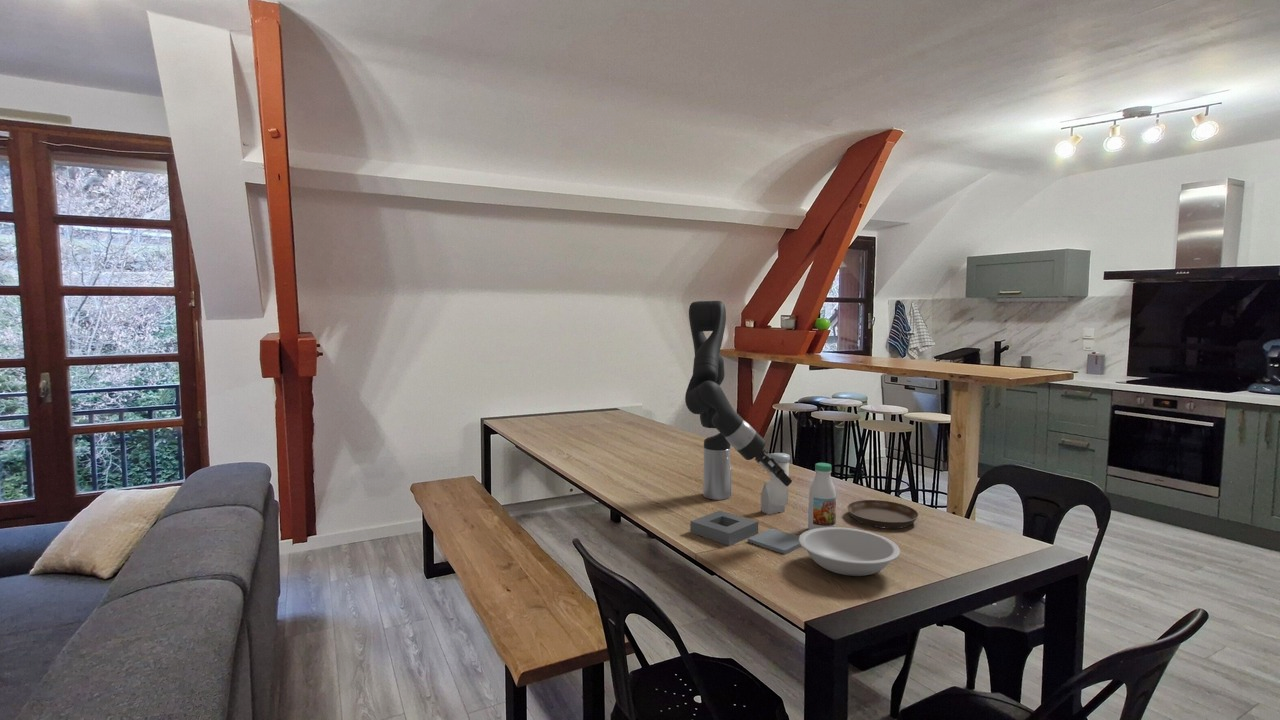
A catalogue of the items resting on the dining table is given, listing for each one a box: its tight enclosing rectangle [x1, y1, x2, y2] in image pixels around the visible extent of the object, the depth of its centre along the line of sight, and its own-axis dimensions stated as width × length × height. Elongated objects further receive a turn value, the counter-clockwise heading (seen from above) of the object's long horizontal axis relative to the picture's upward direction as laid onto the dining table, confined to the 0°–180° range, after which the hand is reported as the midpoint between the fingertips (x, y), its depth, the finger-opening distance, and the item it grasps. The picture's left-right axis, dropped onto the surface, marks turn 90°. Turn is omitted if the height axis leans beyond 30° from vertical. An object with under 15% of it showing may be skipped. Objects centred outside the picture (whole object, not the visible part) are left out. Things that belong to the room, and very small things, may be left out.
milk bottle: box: [807, 462, 837, 530], centre depth 180 cm, size 8×8×20 cm
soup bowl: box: [799, 526, 901, 577], centre depth 153 cm, size 24×24×7 cm
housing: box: [689, 510, 759, 547], centre depth 178 cm, size 14×14×4 cm
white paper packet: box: [760, 481, 786, 515], centre depth 198 cm, size 4×7×10 cm, turn 116°
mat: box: [747, 528, 802, 555], centre depth 171 cm, size 12×12×1 cm
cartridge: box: [769, 452, 791, 506], centre depth 170 cm, size 5×5×14 cm
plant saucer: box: [846, 499, 920, 529], centre depth 191 cm, size 21×21×3 cm
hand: (785, 480), depth 170 cm, fingers closed on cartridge, 5 cm apart
